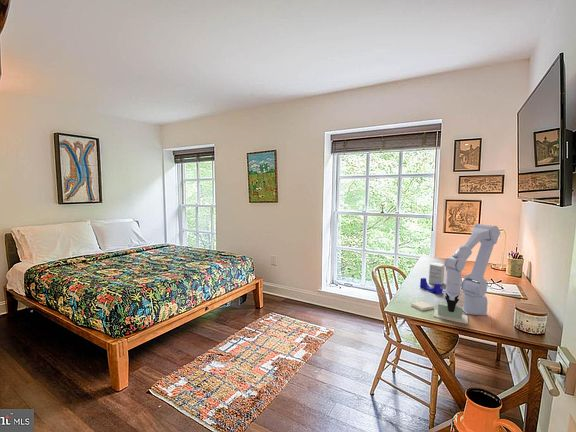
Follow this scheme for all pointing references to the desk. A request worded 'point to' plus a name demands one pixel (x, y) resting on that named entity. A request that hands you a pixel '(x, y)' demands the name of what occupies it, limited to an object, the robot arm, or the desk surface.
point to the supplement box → (436, 273)
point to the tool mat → (463, 320)
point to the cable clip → (424, 285)
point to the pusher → (444, 311)
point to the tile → (422, 305)
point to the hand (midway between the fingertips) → (451, 309)
